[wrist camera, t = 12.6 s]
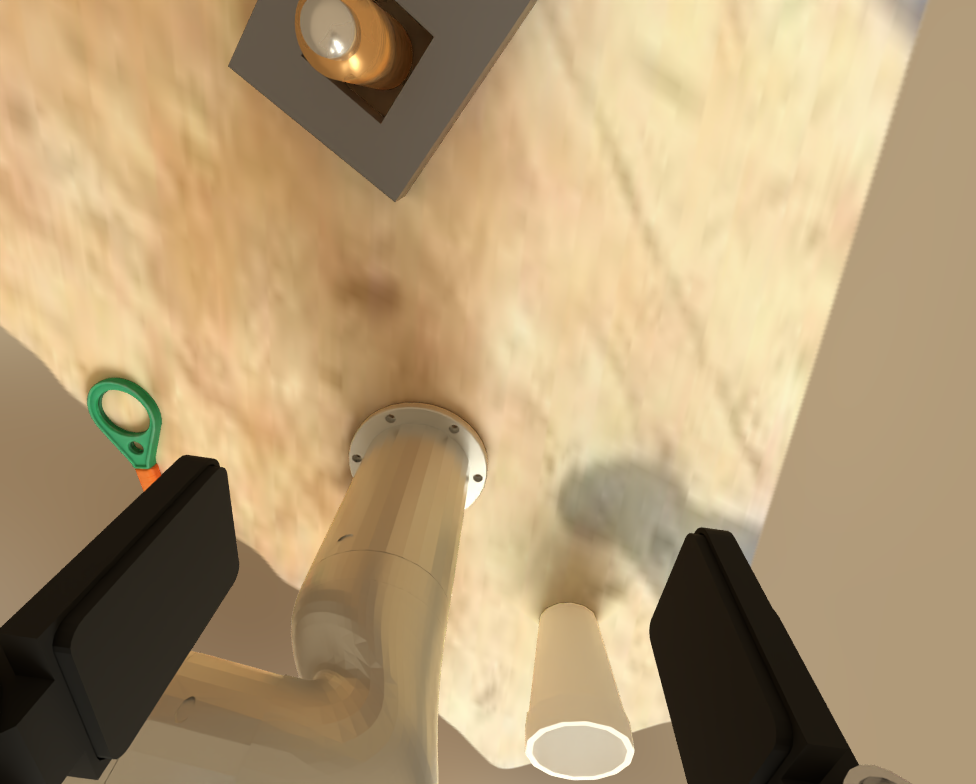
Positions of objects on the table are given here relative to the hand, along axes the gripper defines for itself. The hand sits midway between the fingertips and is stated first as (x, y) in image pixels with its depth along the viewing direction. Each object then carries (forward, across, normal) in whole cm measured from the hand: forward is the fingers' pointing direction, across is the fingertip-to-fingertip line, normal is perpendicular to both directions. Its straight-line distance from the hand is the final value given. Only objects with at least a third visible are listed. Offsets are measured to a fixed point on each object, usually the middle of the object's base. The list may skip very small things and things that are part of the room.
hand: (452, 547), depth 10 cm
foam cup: (+31, -13, +39) cm, 51 cm away
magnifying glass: (+31, +31, +23) cm, 50 cm away
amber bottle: (+30, +9, -11) cm, 33 cm away
